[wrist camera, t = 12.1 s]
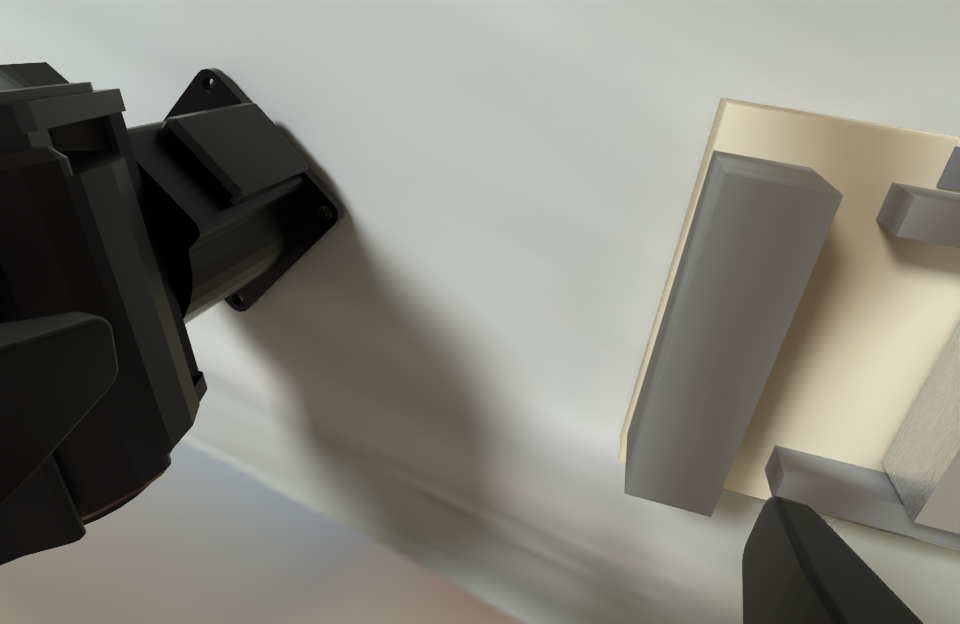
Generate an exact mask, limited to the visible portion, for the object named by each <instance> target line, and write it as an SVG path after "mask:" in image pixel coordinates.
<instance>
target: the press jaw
mask: <svg viewBox="0 0 960 624" xmlns="http://www.w3.org/2000/svg"><path fill="white" fill-rule="evenodd" d="M881 463H882V464H883V466H884V468H885V470H886V472H887V474H888V475H889V477H890V479H891V481H892V483H893V485H894V487H895V488H896V490H897V492H898V494H899V496H900V498H901V499H902V501H903V503H904V505H905V507H906V509H907V511H908V512H909V514H910V516H911V518H912V520H913V522H915V523H919V524H922V525H926V526H930V527H934V528H938V529H942V530H946V531H949V532H953V533H957V534H960V321H959V322H958V324H957V326H956V328H955V330H954V331H953V333H952V335H951V337H950V339H949V340H948V342H947V344H946V346H945V348H944V349H943V351H942V353H941V355H940V357H939V358H938V360H937V362H936V364H935V366H934V368H933V369H932V371H931V373H930V375H929V377H928V378H927V380H926V382H925V384H924V386H923V387H922V389H921V391H920V393H919V395H918V396H917V398H916V400H915V402H914V404H913V405H912V407H911V409H910V411H909V413H908V414H907V416H906V418H905V420H904V422H903V424H902V425H901V427H900V429H899V431H898V433H897V434H896V436H895V438H894V440H893V442H892V443H891V445H890V447H889V449H888V451H887V452H886V454H885V456H884V458H883V460H882V461H881Z"/></svg>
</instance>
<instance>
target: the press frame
mask: <svg viewBox="0 0 960 624" xmlns="http://www.w3.org/2000/svg"><path fill="white" fill-rule="evenodd" d="M959 321H960V137H954V136H948V135H942V134H936V133H930V132H924V131H918V130H912V129H906V128H900V127H894V126H888V125H882V124H876V123H870V122H863V121H857V120H851V119H845V118H839V117H833V116H827V115H821V114H815V113H809V112H803V111H797V110H791V109H785V108H779V107H773V106H767V105H760V104H754V103H748V102H742V101H736V100H730V99H724V98H721V100H720V104H719V107H718V110H717V114H716V117H715V120H714V124H713V127H712V130H711V134H710V137H709V141H708V144H707V147H706V151H705V154H704V157H703V161H702V164H701V167H700V171H699V174H698V177H697V181H696V184H695V187H694V191H693V194H692V198H691V201H690V204H689V208H688V211H687V214H686V218H685V221H684V224H683V228H682V231H681V234H680V238H679V241H678V245H677V248H676V251H675V255H674V258H673V261H672V265H671V268H670V271H669V275H668V278H667V281H666V285H665V288H664V292H663V295H662V298H661V302H660V305H659V308H658V312H657V315H656V318H655V322H654V325H653V328H652V332H651V335H650V338H649V342H648V345H647V349H646V352H645V355H644V359H643V362H642V365H641V369H640V372H639V375H638V379H637V382H636V385H635V389H634V392H633V396H632V399H631V402H630V406H629V409H628V412H627V416H626V419H625V422H624V426H623V429H622V432H621V436H620V451H619V462H623V463H626V471H625V494H628V495H632V496H636V497H639V498H643V499H647V500H650V501H654V502H658V503H661V504H665V505H669V506H673V507H676V508H680V509H684V510H687V511H691V512H695V513H698V514H702V515H706V516H709V517H711V515H712V513H713V510H714V508H715V505H716V503H717V500H718V498H719V496H720V493H721V491H722V489H726V490H730V491H733V492H737V493H741V494H745V495H749V496H752V497H756V498H760V499H764V500H768V499H769V498H770V497H773V496H779V497H783V498H787V499H791V500H794V501H798V502H802V503H805V504H807V505H809V506H810V507H811V508H812V509H814V510H815V512H816V513H817V514H821V515H824V516H828V517H832V518H836V519H840V520H843V521H847V522H851V523H855V524H859V525H862V526H866V527H870V528H874V529H878V530H881V531H885V532H889V533H893V534H897V535H900V536H904V537H908V538H912V539H916V540H919V541H923V542H927V543H931V544H935V545H938V546H942V547H946V548H950V549H954V550H957V551H960V534H957V533H953V532H949V531H946V530H942V529H938V528H934V527H930V526H926V525H922V524H919V523H915V522H913V520H912V518H911V516H910V514H909V512H908V511H907V509H906V507H905V505H904V503H903V501H902V499H901V498H900V496H899V494H898V492H897V490H896V488H895V487H894V485H893V483H892V481H891V479H890V477H889V475H888V474H887V472H886V470H885V468H884V466H883V464H882V463H881V461H882V460H883V458H884V456H885V454H886V452H887V451H888V449H889V447H890V445H891V443H892V442H893V440H894V438H895V436H896V434H897V433H898V431H899V429H900V427H901V425H902V424H903V422H904V420H905V418H906V416H907V414H908V413H909V411H910V409H911V407H912V405H913V404H914V402H915V400H916V398H917V396H918V395H919V393H920V391H921V389H922V387H923V386H924V384H925V382H926V380H927V378H928V377H929V375H930V373H931V371H932V369H933V368H934V366H935V364H936V362H937V360H938V358H939V357H940V355H941V353H942V351H943V349H944V348H945V346H946V344H947V342H948V340H949V339H950V337H951V335H952V333H953V331H954V330H955V328H956V326H957V324H958V322H959Z"/></svg>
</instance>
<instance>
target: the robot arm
mask: <svg viewBox="0 0 960 624" xmlns="http://www.w3.org/2000/svg"><path fill="white" fill-rule="evenodd" d="M210 79H213V80H214V82H215V84H216V89H215V91H214V90H212V88H211V86H210ZM122 111H126V110H125V106H124V103H123V100H122V96H121V93H120V89H104V90H93V88H92V85H91V82H84V83H69V82H68V81H67V80H66V79H65V78H63V77H62V76H61V75H60V74H59V73H58V72H57V71H55V70H54V69H53V68H52V67H51V66H50V65H49V64H47V63H46V62H43V63H25V64H8V65H0V565H2V564H5V563H7V562H10V561H12V560H15V559H17V558H20V557H22V556H25V555H29V554H33V553H37V552H40V551H44V550H48V549H52V548H55V547H59V546H63V545H66V544H70V543H73V542H76V541H78V540H80V539H81V538H82V537H83V536H84V535H85V533H86V529H85V527H84V525H86V524H88V523H91V522H93V521H96V520H98V519H100V518H102V517H104V516H106V515H108V514H109V513H111V512H113V511H115V510H117V509H118V508H120V507H122V506H123V505H124V504H126V503H127V502H129V501H131V500H132V499H133V498H135V497H136V496H137V495H139V494H140V493H141V492H142V491H143V490H144V489H145V488H146V487H147V486H149V485H150V484H151V483H152V482H153V481H155V480H156V479H157V478H159V477H160V476H161V475H162V474H163V473H164V472H165V471H166V469H167V468H168V467H169V466H170V464H171V458H170V455H169V454H170V452H171V451H172V449H173V448H174V447H175V445H176V444H177V443H178V442H179V441H180V440H181V438H182V437H183V436H184V435H185V434H186V433H187V431H188V430H189V429H190V428H191V427H192V426H193V424H194V421H195V417H196V414H197V411H198V408H199V405H200V404H199V403H200V401H201V399H202V397H203V396H204V394H205V392H206V391H207V385H206V381H205V378H204V375H203V372H201V371H198V367H197V364H196V361H195V357H194V354H193V350H192V347H191V344H190V340H189V337H188V334H187V330H186V327H185V324H186V323H187V322H189V321H191V320H192V319H194V318H195V317H197V316H198V315H200V314H201V313H203V312H205V311H206V310H208V309H209V308H211V307H212V306H214V305H215V304H217V303H219V302H220V301H222V300H223V299H224V300H225V301H226V302H227V303H228V304H229V305H230V306H231V307H232V308H233V309H235V310H237V311H240V312H241V311H246V310H247V309H249V308H250V307H252V306H253V305H254V304H255V303H256V302H257V301H258V300H259V299H260V298H261V297H262V296H263V295H264V294H266V293H267V292H268V291H269V290H270V289H271V288H272V287H273V286H274V285H275V284H276V283H277V282H278V281H279V280H280V279H281V278H282V277H283V276H284V275H285V274H286V273H287V272H288V271H289V270H290V269H291V268H292V267H293V266H294V265H295V264H296V263H297V262H299V261H300V260H301V259H302V258H303V257H304V256H305V255H306V254H307V253H308V252H309V251H310V250H311V249H312V248H313V247H314V246H315V245H316V244H317V243H318V242H319V241H320V240H321V239H322V238H323V237H324V236H325V235H326V234H327V233H328V232H329V231H330V230H332V229H333V228H334V227H335V226H336V225H337V224H338V223H339V222H340V221H341V219H342V217H343V208H342V205H341V204H340V202H339V201H338V200H337V199H336V198H335V196H334V195H333V194H332V193H331V192H330V191H329V190H328V189H327V188H326V186H325V185H324V184H323V183H322V182H321V181H320V180H319V179H318V178H317V176H316V175H315V174H314V173H313V172H312V171H311V170H310V169H309V167H308V166H307V162H306V159H305V158H304V157H303V156H302V155H301V153H300V152H299V151H298V150H297V149H296V148H295V147H294V146H293V145H292V143H291V142H290V141H289V140H288V139H287V138H286V137H285V136H284V134H283V133H282V132H281V131H280V130H279V129H278V128H277V127H276V126H275V124H274V123H273V122H272V121H271V120H270V119H269V118H268V117H267V115H266V114H265V113H264V112H263V111H262V110H261V109H260V108H259V107H258V105H256V104H253V103H250V102H249V101H248V99H247V98H246V97H245V96H244V95H243V94H242V93H241V92H240V90H239V89H238V88H237V87H236V86H235V85H234V84H233V83H232V82H231V80H230V79H229V78H228V77H227V76H226V75H225V74H224V73H223V72H222V71H220V70H218V69H215V68H212V69H204V70H201V71H200V72H199V73H198V74H197V75H196V76H195V78H194V79H193V81H192V82H191V83H190V85H189V86H188V87H187V89H186V90H185V92H184V93H183V94H182V96H181V97H180V98H179V100H178V101H177V103H176V104H175V105H174V107H173V108H172V109H171V111H170V112H169V114H168V115H167V116H166V118H165V119H164V120H163V121H162V122H156V123H151V124H146V125H141V126H136V127H131V128H126V125H125V122H124V118H123V115H122ZM324 206H326V207H328V208H329V209H330V210H331V212H332V217H328V216H327V215H326V214H325V213H324ZM238 294H239V295H241V296H242V297H243V299H244V301H242V300H241V299H240V298H239V295H238ZM742 582H743V624H923V623H922V621H921V620H920V619H919V618H918V617H917V616H916V615H915V614H914V613H913V612H912V611H911V610H910V609H909V608H908V607H907V606H906V605H905V604H904V603H903V602H902V601H901V600H900V599H899V598H898V597H897V596H896V595H895V593H894V592H893V591H892V590H891V589H890V588H889V587H888V586H887V585H886V584H885V583H884V582H883V581H882V580H881V579H880V578H879V577H878V576H877V575H876V574H875V573H874V572H873V571H872V570H871V569H870V568H869V566H868V565H867V564H866V563H865V562H864V561H863V560H862V559H861V558H860V557H859V556H858V555H857V554H856V553H855V552H854V551H853V550H852V549H851V548H850V547H849V546H848V545H847V544H846V543H845V542H844V541H843V540H842V538H841V537H840V536H839V535H838V534H837V533H836V532H835V531H834V530H833V529H832V528H831V527H830V526H829V525H828V524H827V523H826V522H825V521H824V520H823V519H822V518H821V517H820V516H819V515H818V514H817V513H816V512H815V510H814V509H812V508H811V507H810V506H809V505H807V504H805V503H802V502H798V501H794V500H791V499H787V498H783V497H779V496H773V497H770V498H769V499H768V500H767V501H766V502H765V504H764V506H763V508H762V510H761V512H760V514H759V516H758V519H757V521H756V523H755V525H754V527H753V529H752V531H751V534H750V536H749V538H748V540H747V542H746V545H745V548H744V553H743V560H742Z"/></svg>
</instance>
